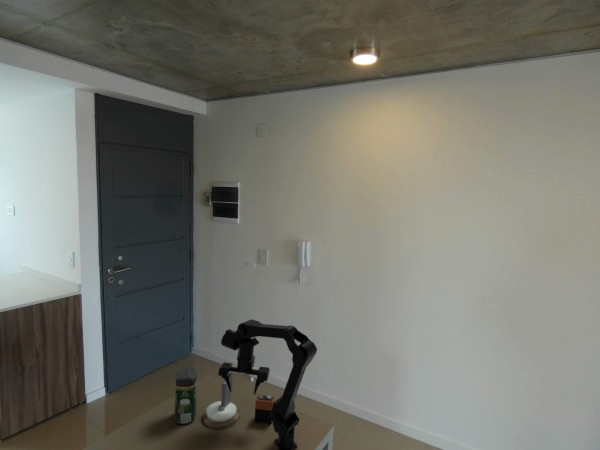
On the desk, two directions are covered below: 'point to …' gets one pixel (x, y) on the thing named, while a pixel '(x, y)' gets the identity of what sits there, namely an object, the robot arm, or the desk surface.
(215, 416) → the dial
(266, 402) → the battery
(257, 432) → the desk surface
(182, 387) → the coffee jar
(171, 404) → the desk surface
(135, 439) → the desk surface
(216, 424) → the dial base
